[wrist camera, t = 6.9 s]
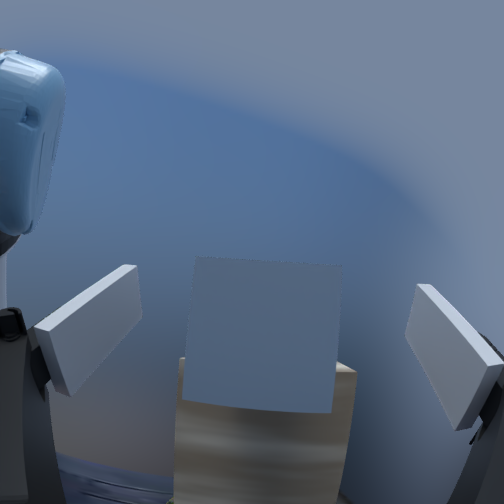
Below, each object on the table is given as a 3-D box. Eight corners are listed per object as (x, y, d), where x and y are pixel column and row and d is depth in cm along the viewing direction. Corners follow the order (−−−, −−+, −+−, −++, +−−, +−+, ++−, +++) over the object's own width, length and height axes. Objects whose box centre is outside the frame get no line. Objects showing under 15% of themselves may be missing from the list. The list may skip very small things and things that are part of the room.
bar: (331, 413, 7) (341, 265, 8) (181, 399, 8) (195, 256, 9) (292, 351, 30) (295, 313, 31) (253, 349, 31) (257, 310, 32)
